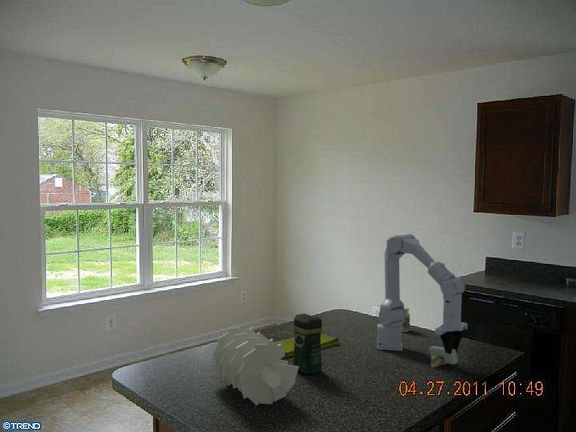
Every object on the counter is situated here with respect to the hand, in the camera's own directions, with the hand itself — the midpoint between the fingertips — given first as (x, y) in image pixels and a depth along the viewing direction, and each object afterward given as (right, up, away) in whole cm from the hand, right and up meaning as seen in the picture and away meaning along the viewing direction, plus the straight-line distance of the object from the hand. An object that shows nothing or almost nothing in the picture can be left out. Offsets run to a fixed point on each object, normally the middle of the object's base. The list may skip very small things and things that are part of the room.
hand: (450, 352), depth 164 cm
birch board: (-2, -5, +3) cm, 6 cm away
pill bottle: (-6, -3, +43) cm, 43 cm away
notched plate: (-1, -4, +3) cm, 5 cm away
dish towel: (-54, -4, +19) cm, 58 cm away
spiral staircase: (-66, -6, -21) cm, 70 cm away
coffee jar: (-49, -5, -3) cm, 50 cm away
